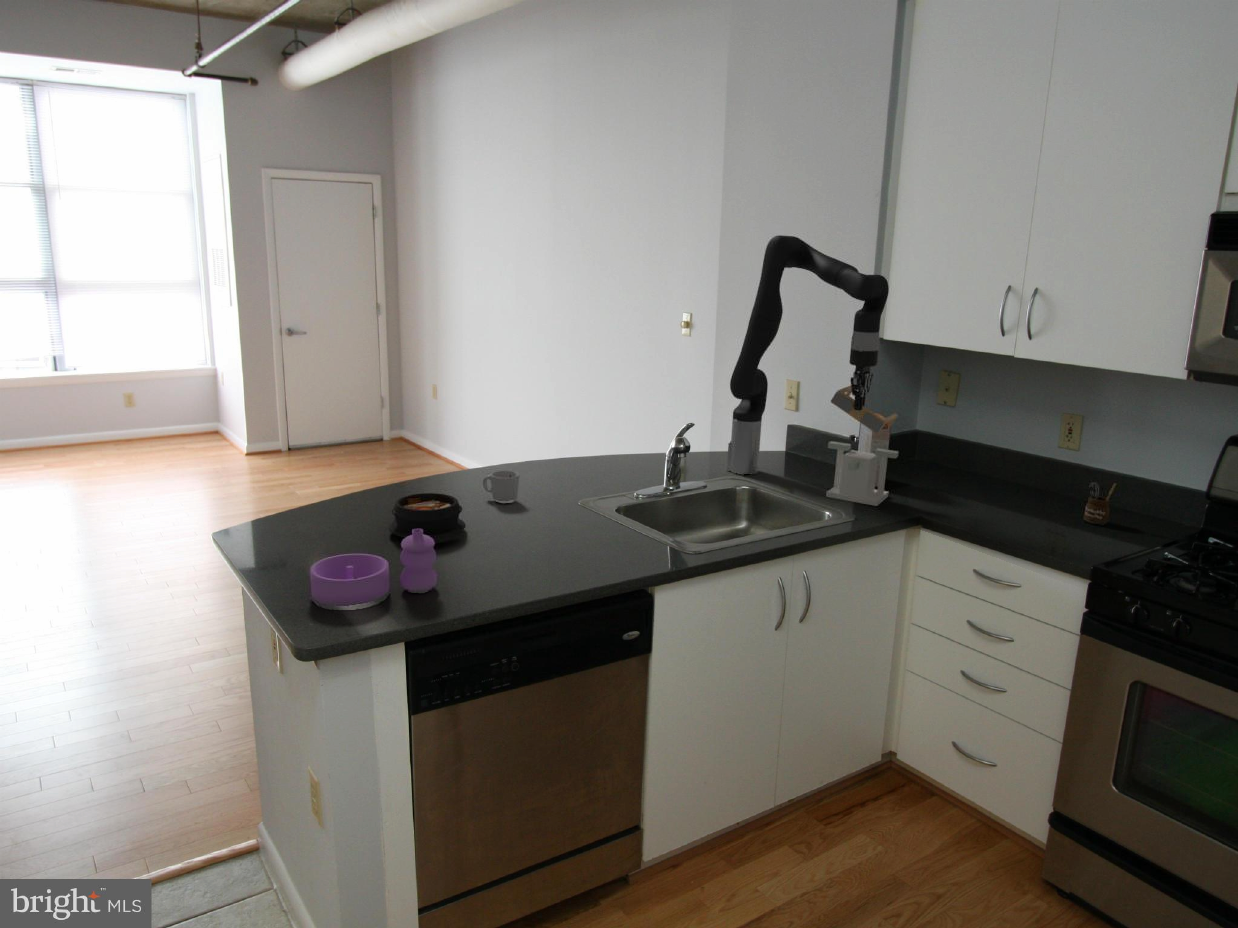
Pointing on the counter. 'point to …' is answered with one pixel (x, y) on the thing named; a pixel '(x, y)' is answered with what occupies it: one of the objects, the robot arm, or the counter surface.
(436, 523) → the casserole
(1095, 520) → the utensil holder
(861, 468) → the display stand
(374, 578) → the container set
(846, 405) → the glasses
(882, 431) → the cracker box
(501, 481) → the cup
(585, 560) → the counter surface
